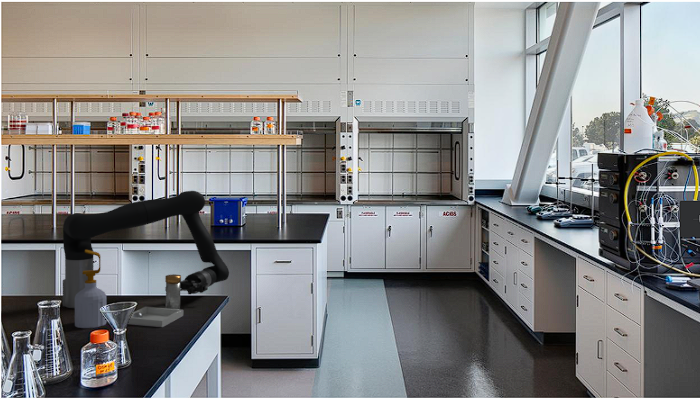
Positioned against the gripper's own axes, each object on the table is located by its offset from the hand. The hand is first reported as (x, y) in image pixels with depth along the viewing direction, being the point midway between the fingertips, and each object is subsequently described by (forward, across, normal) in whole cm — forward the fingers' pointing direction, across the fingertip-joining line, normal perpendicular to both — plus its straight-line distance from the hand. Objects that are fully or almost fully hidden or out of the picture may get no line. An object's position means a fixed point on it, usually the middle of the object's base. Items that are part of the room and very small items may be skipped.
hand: (177, 290), depth 204 cm
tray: (+17, 0, +7) cm, 18 cm away
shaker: (+4, 0, +7) cm, 8 cm away
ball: (+20, -4, +6) cm, 21 cm away
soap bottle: (+26, -16, +7) cm, 32 cm away
